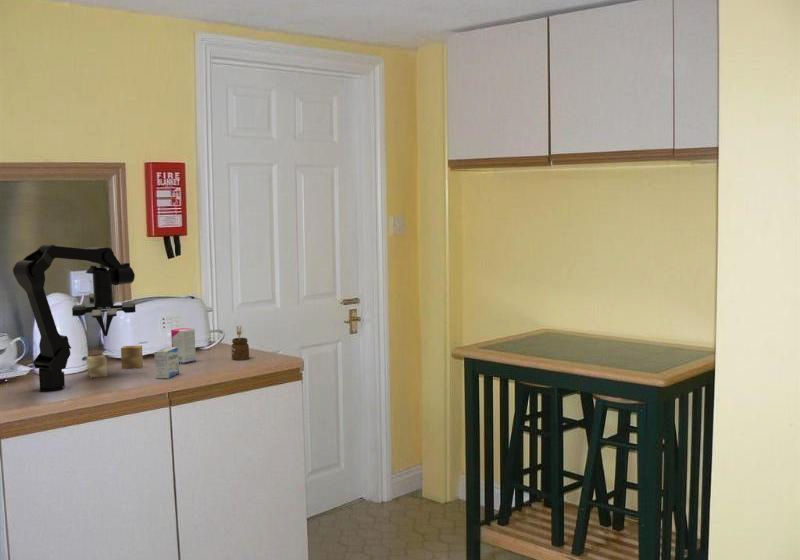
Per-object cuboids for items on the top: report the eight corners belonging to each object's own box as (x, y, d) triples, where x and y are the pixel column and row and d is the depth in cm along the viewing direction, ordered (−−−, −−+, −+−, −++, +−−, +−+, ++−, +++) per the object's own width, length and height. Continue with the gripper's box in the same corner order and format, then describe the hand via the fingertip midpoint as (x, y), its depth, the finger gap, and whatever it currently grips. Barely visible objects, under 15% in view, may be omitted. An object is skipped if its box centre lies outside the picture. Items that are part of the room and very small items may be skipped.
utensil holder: (249, 356, 304) (248, 323, 303) (248, 360, 298) (247, 325, 297) (232, 357, 303) (231, 323, 302) (231, 360, 297) (230, 326, 296)
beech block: (90, 378, 274) (89, 359, 273) (88, 375, 278) (87, 356, 277) (107, 376, 276) (106, 357, 276) (104, 373, 280) (103, 355, 280)
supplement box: (196, 361, 297) (195, 328, 296) (183, 364, 292) (182, 331, 291) (184, 359, 301) (183, 327, 299) (171, 362, 296) (170, 329, 294)
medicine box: (168, 379, 270) (167, 351, 269) (155, 378, 271) (154, 351, 270) (179, 373, 278) (178, 347, 277) (166, 373, 279) (165, 346, 278)
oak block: (121, 369, 287) (120, 348, 286) (124, 366, 291) (123, 346, 290) (140, 368, 287) (139, 347, 287) (143, 366, 291) (142, 345, 291)
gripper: (132, 282, 283) (135, 330, 284) (71, 286, 277) (74, 334, 278) (134, 286, 272) (136, 335, 274) (70, 289, 266) (73, 339, 268)
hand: (105, 336), depth 274 cm, fingers closed
